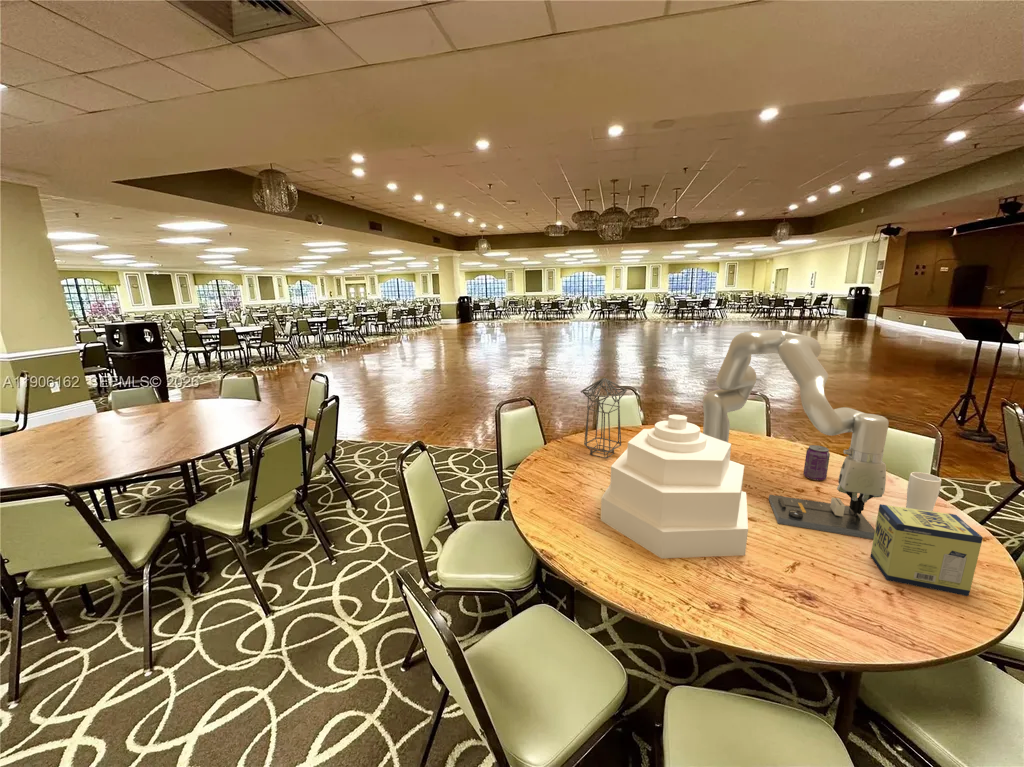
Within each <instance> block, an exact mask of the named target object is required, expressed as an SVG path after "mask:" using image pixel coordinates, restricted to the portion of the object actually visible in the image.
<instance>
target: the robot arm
mask: <svg viewBox="0 0 1024 767" xmlns="http://www.w3.org/2000/svg"><path fill="white" fill-rule="evenodd" d="M821 352H822V347H821V344H820V342H819V341H818V339H816V338H814V337H812V336H809V335H804V334H799V333H795V332H790V331H786V330H781V329H768V330H767V329H766V330H754V331H753V330H752V331H744V332H741V333H738V334H737V335H735V336H734V338H732V340H731V341H730V345H729V347H728V350H727V352H726V355H725V357H724V359H723V361H722V364H721V366H720V368H719V370H718V372H717V375H716V380H715V384H716V385H717V387H718V388H719V389H715V390H712V391H709V392H708V393H706V394H705V396H703V400H702V408H703V424H702V426H703V427H702V433H703V434H705V435H708V436H710V437H713V438H716V439H719V440H722V441H725V442H728V443H729V437H730V427H731V426H730V425H731V424H730V419H729V416H728V413H730V412H736V411H739V410H741V409H742V408H744V406H745V405H746V403H747V401H748V399H749V397H750V395H751V393H752V391H753V389H754V387H755V384H756V381H757V374H756V373H757V372H756V370H755V369H754V367H752V366H751V365H750V364H751V362H752V361H751V360H752V355H756V356H757V355H767V354H777V355H778V356H779V357H780V359H781V361H782V362H783V363H784V365H785V368H786V369H787V370H788V372H789V373H790V375H791V377H793V379H794V381H795V382H796V384H797V385H798V387H799V395H800V402H801V406H802V408H803V412H804V413H805V415H806V416H807V418H808V419H809V421H810V422H811V423H812V425H813V427H815V429H816V430H817V431H819V432H820V433H821V434H823V435H826V436H837V435H842V434H845V433H852V435H851V441H850V446H849V448H848V449H843V454H844V455H846V456H845V458H844V461H843V463H842V465H841V468H840V471H839V476H838V482H837V483H838V485H837V487H836V490H837V491H838V492H839V493H842V494H846V495H847V496H848V497H849V498H850V500H849V506H850V509H851V510H852V511H853V512H854V513H855V514H857V513H858V514H861V513H862V512H863V511H864V508H865V503H867V502H868V501H869V500H871V499H873V498H882V497H883V495H884V494H885V492H886V485H887V484H886V482H887V480H886V479H887V477H886V476H887V467H886V463H885V462H884V461H883V457H884V451H885V446H886V441H887V435H888V429H889V424H890V423H889V419H888V418H887V417H885V416H883V415H879V414H874V413H866V412H863V411H860V410H857V409H854V408H851V407H838V408H833V407H832V406H831V404H830V402H829V401H828V399H827V396H826V394H825V385H826V384H827V381H828V379H829V373H828V372H827V370H826V369H825V367H824V366H823V365H822V364H821V362H820V361H819V359H818V357H819V356H820V354H821ZM858 494H859V495H858Z"/></svg>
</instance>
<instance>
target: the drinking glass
mask: <svg viewBox="0 0 1024 767" xmlns="http://www.w3.org/2000/svg"><path fill="white" fill-rule="evenodd" d="M941 484H942V478H940V477H938V476H936V475H933V474H931V473H927V472H919V471H913V472H910V474H909V478H908V482H907V489H906V490H907V491H906V504H905V505H906V506H905V508H910V509H917V510H925V511H932V512H934V508H935V505H936V502H937V500H938V497H939V494H940V490H941V486H942V485H941Z"/></svg>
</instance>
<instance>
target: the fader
mask: <svg viewBox="0 0 1024 767" xmlns="http://www.w3.org/2000/svg"><path fill="white" fill-rule="evenodd" d="M830 503H831V505H830V508H831V509H832V511H833V512H834V514H835V515H838V516H843V515H844V509H845V506H846V505H845V503H843V501H842V499H841V498H840V497H839V498H838V497H831V501H830Z"/></svg>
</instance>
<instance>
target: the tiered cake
mask: <svg viewBox="0 0 1024 767" xmlns="http://www.w3.org/2000/svg"><path fill="white" fill-rule="evenodd" d="M667 418H668V419H667V420H660V421H657V422H656V423H654V427H652V428H643V429H642V430H641V431H640V432H639V433H637V434H636V435H635V436H634V437H632V438H631V439H630V440H629V441H627V448H626V449H625V450H624V452H623V453H622V454H621V455H620V456H619V457H618V458H617V459H616V460H615V461H614V462H613V463H612V464H611V466H610V484H609V485H608V487H607V488H606V490H604V493H603V494H602V495H601V498H600V499H601V503H600V504H601V505H600V521H601V522H602V523H604V524H606V525H608V526H609V527H610V528H612V529H614V530H615V531H617V532H618V533H619V534H622V535H623V536H625V537H626V538H628V539H630V540H631V541H632V542H634V543H636V544H637V545H639V546H641V547H643V548H644V549H645V550H647V551H649V552H650V553H652V554H653V555H655V556H657V557H658V558H660V559H680V558H681V559H682V558H684V559H685V558H705V557H706V558H708V557H729V556H730V557H732V556H746V552H747V551H746V550H747V542H748V541H747V540H748V534H749V533H748V532H749V522H748V521H749V520H748V504H747V502H748V501H747V492H746V491H743V481H744V471H745V465H744V464H741V463H739V462H735V461H733V460H731V452H732V451H731V449H732V443H731V442H729V441H728V442H725V441H722V440H719V439H716V438H713V437H710V436H708V435H705V434H703V432H701V428H700V427H699V426H698V425H696V424H695V423H691V422H688V417H687V416H686V415H681V414H670V415H668V417H667Z"/></svg>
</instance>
